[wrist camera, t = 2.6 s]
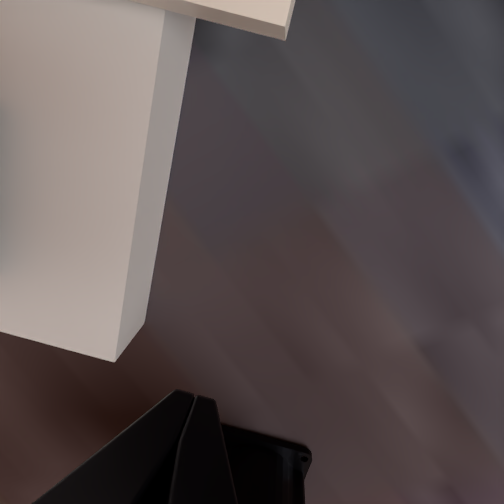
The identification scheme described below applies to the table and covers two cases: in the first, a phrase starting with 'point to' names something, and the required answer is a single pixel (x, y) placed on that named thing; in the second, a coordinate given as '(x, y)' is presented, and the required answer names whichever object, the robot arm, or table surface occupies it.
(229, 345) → the table surface
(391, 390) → the table surface
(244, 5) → the cover
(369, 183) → the table surface
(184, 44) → the white block with cutout
